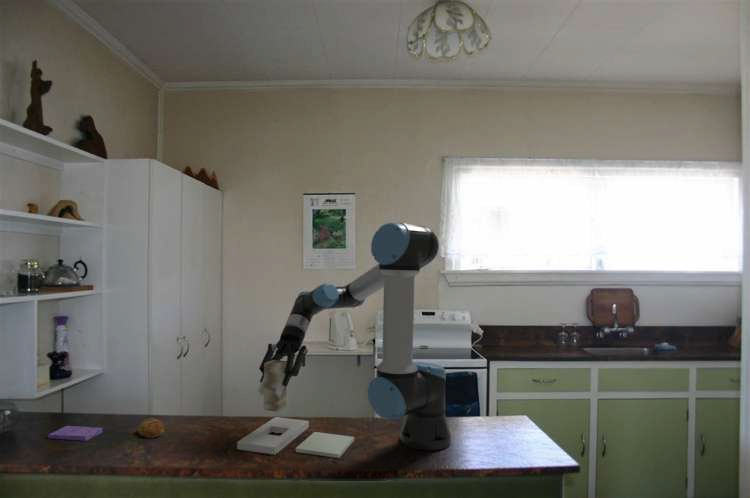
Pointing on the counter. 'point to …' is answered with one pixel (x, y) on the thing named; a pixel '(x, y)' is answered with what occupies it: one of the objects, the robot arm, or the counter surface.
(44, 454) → the counter surface
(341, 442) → the tile
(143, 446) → the counter surface
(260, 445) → the plate with hole
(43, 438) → the counter surface
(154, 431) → the pastry
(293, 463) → the counter surface
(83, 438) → the sponges
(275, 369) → the peg
